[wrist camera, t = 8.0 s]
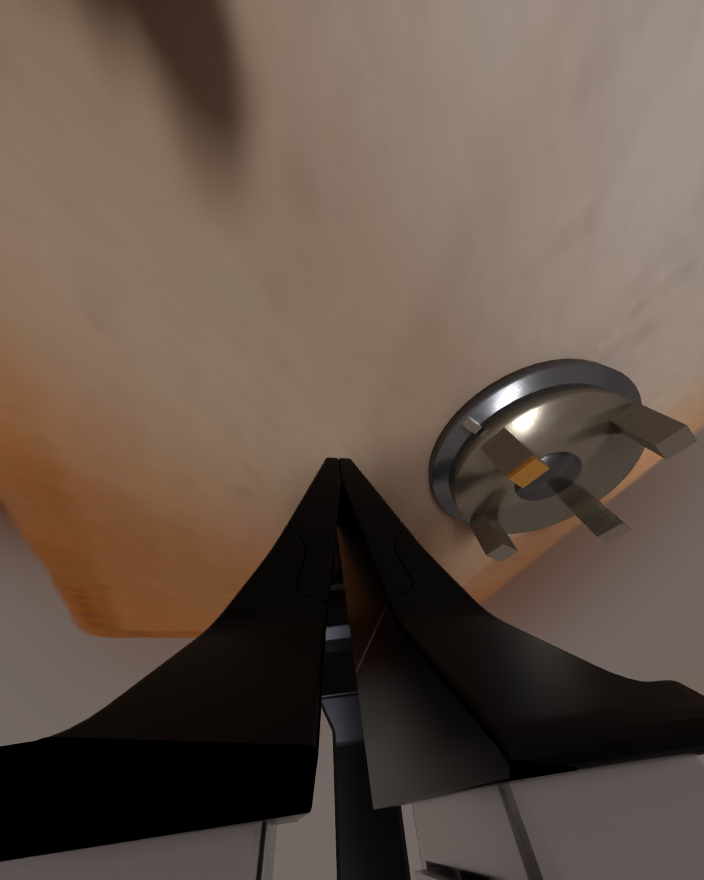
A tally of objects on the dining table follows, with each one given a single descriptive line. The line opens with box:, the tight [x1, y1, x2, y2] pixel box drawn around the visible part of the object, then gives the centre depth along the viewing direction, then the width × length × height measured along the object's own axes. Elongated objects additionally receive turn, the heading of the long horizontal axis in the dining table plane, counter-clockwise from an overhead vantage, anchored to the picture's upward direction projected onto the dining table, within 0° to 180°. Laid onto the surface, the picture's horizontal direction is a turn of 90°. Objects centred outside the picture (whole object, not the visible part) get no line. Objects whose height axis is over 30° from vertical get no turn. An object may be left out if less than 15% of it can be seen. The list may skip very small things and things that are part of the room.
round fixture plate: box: [449, 383, 697, 562], centre depth 24 cm, size 17×17×6 cm
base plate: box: [429, 359, 642, 523], centre depth 26 cm, size 20×20×2 cm
